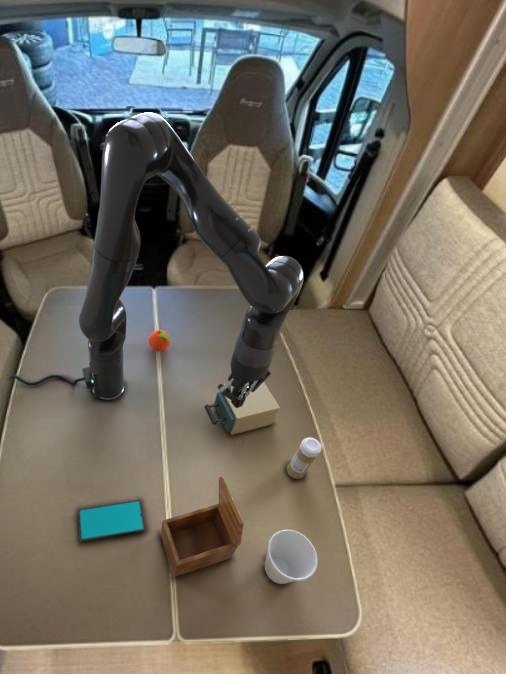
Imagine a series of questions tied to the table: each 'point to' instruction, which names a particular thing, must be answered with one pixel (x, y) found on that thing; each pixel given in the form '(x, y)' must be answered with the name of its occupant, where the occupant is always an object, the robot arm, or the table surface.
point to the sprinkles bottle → (304, 457)
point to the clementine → (159, 340)
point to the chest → (197, 539)
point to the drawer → (221, 412)
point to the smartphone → (110, 520)
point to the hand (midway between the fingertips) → (236, 404)
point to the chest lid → (230, 511)
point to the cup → (290, 557)
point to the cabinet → (254, 410)
